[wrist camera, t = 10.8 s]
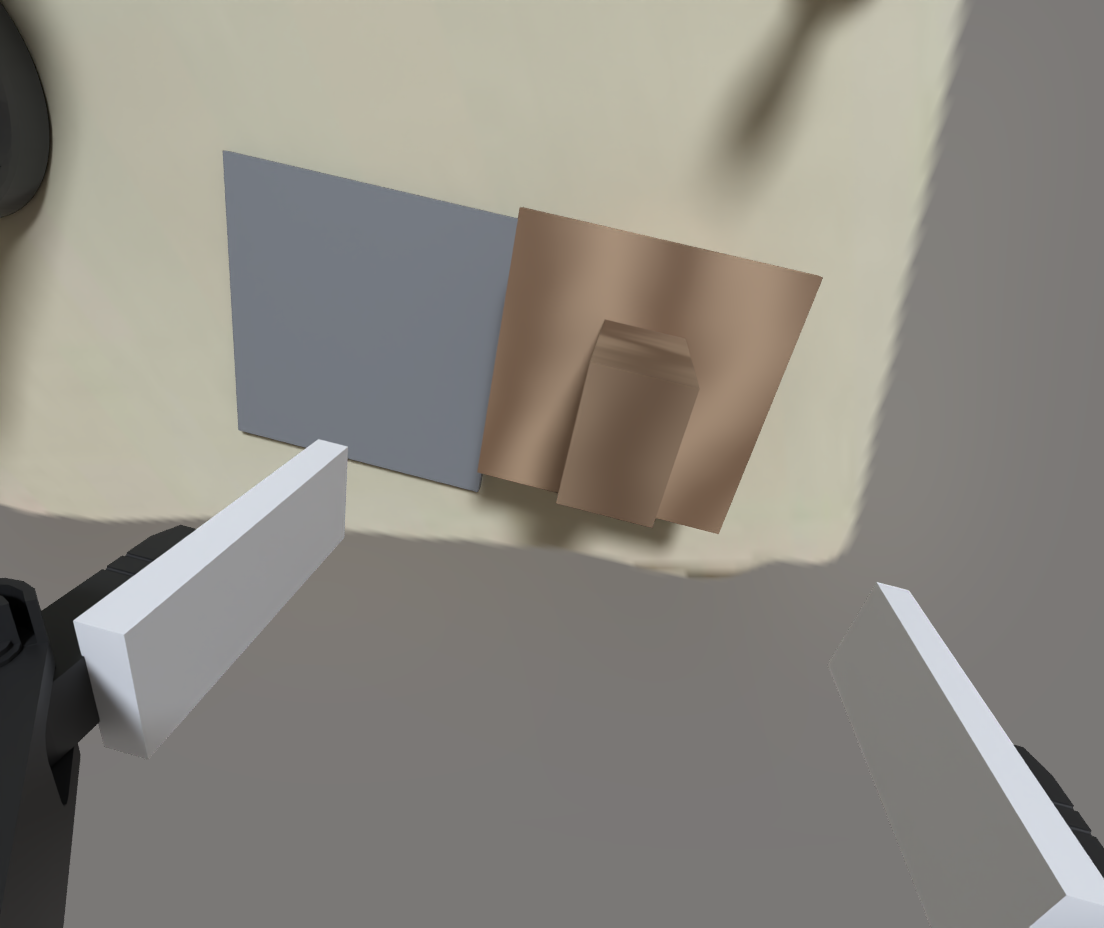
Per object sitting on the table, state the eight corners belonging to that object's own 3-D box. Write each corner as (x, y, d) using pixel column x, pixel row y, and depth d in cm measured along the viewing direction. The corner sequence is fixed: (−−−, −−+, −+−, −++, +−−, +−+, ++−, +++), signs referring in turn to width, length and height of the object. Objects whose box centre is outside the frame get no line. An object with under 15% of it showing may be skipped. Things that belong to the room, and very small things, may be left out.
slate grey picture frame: (243, 427, 41) (238, 430, 40) (229, 151, 33) (222, 150, 32) (480, 488, 40) (477, 492, 39) (524, 220, 32) (522, 220, 31)
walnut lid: (480, 466, 32) (428, 551, 25) (523, 207, 26) (470, 210, 18) (716, 526, 32) (740, 633, 24) (818, 275, 26) (894, 308, 18)
